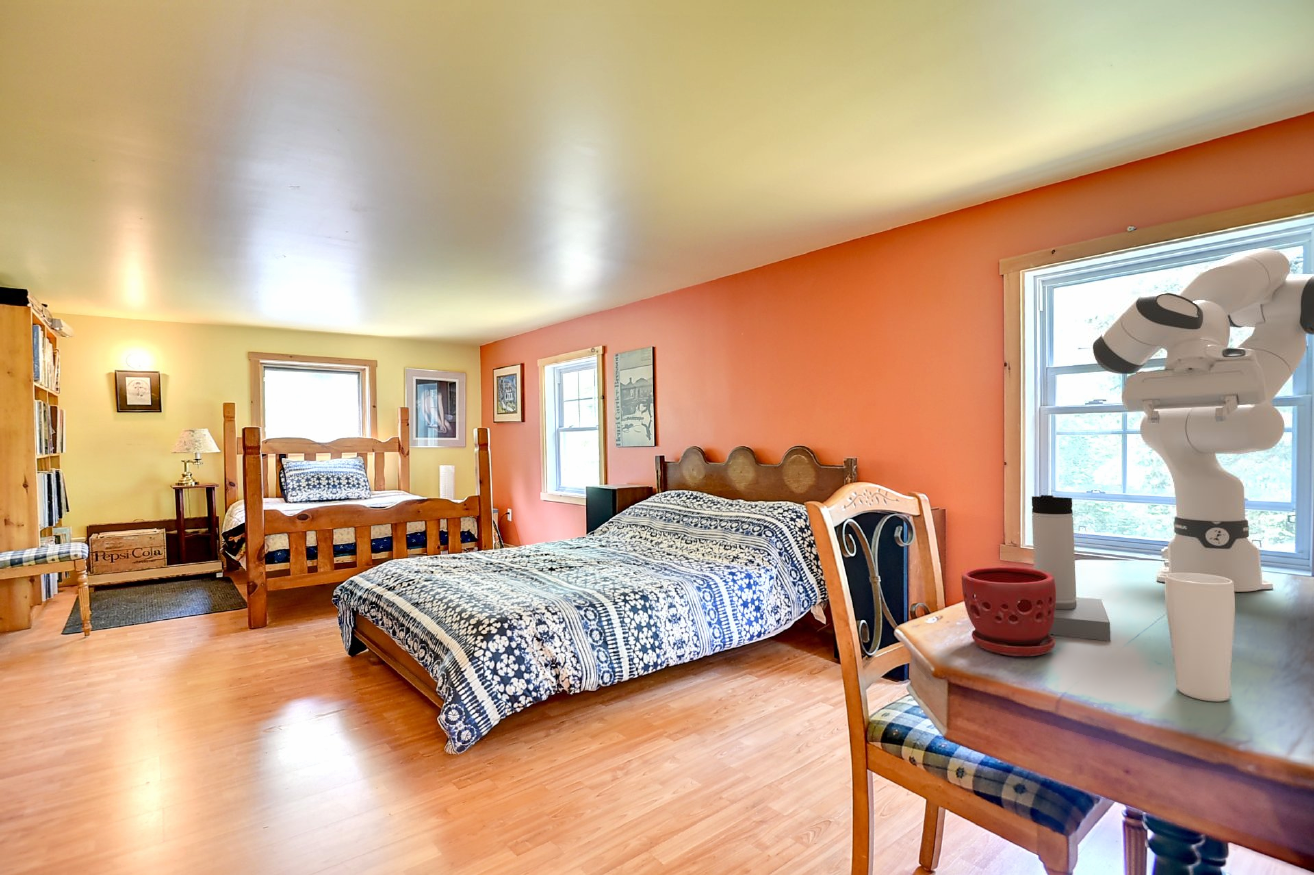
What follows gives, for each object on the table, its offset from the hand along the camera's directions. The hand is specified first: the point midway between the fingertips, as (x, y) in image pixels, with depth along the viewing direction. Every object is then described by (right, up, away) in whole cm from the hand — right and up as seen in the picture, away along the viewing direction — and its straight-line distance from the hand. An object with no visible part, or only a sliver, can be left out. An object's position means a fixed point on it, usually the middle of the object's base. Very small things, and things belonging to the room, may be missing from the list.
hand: (1185, 419), depth 113 cm
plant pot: (-38, -37, -12) cm, 54 cm away
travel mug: (-23, -33, 0) cm, 41 cm away
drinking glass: (-24, -36, -32) cm, 54 cm away
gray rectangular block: (-23, -36, 0) cm, 43 cm away
